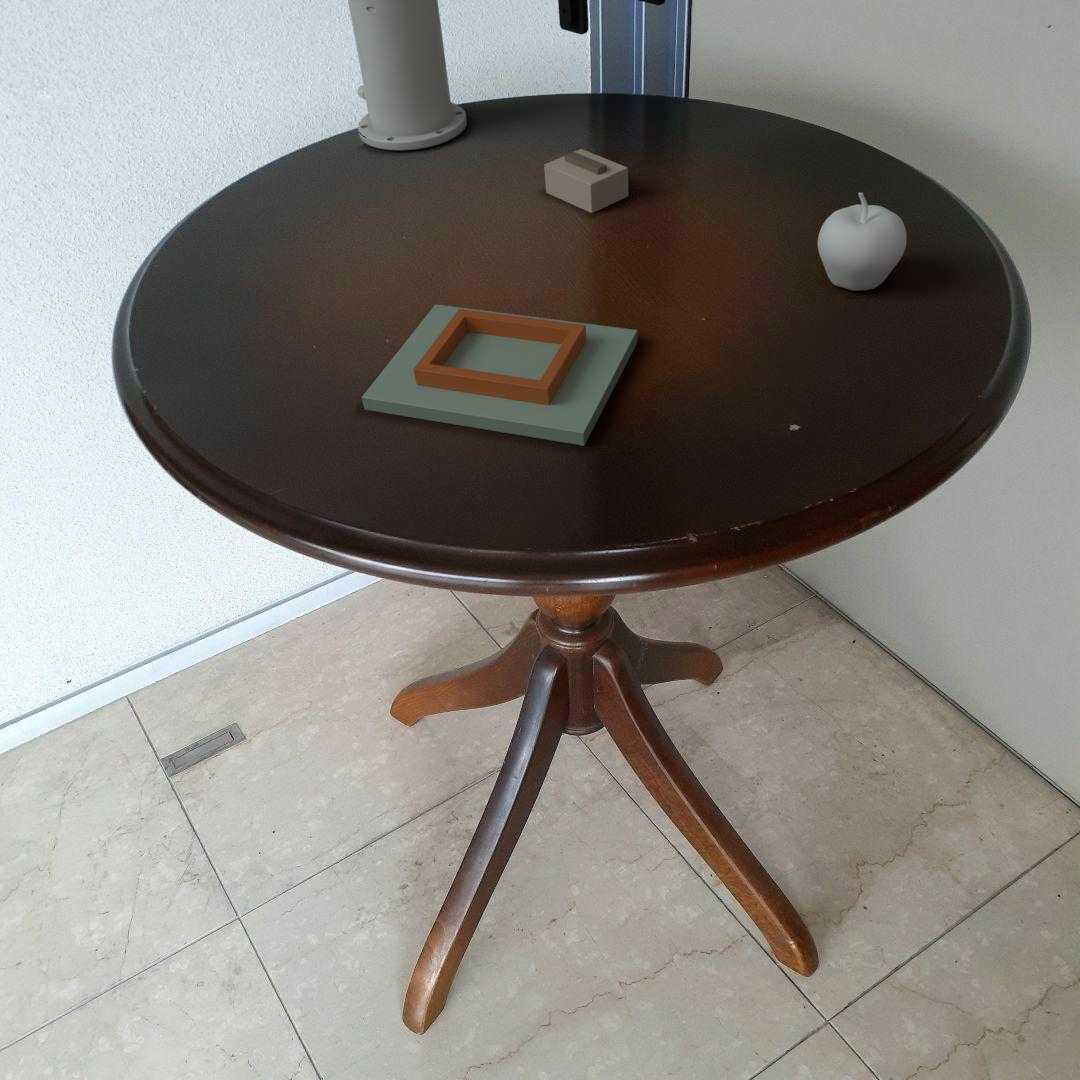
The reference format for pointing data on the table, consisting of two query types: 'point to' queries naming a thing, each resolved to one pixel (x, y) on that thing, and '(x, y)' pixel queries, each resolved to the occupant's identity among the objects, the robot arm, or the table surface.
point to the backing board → (504, 373)
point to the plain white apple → (861, 245)
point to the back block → (586, 180)
